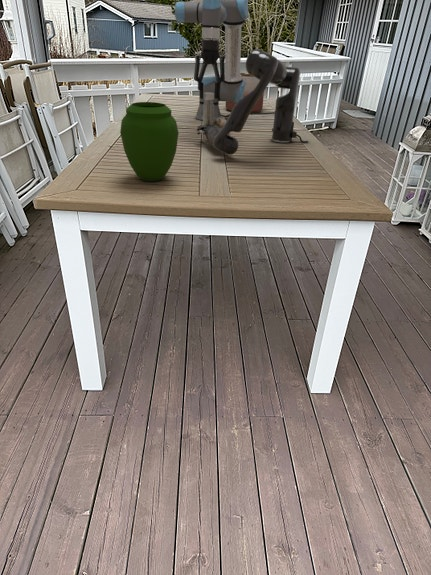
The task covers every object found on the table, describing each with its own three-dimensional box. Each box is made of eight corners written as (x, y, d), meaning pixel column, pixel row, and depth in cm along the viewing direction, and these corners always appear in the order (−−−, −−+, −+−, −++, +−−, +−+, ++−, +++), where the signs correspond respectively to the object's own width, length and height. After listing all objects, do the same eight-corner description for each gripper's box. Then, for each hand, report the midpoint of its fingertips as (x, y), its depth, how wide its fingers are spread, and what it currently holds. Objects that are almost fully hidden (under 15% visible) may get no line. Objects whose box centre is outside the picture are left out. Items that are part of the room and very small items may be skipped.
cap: (210, 98, 190) (210, 92, 189) (215, 99, 187) (215, 93, 186) (201, 98, 188) (202, 92, 187) (206, 100, 185) (206, 93, 183)
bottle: (209, 140, 201) (211, 93, 189) (214, 143, 197) (216, 94, 186) (200, 141, 198) (201, 93, 187) (205, 143, 195) (206, 94, 184)
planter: (266, 114, 273) (270, 77, 261) (229, 113, 269) (231, 75, 257) (257, 107, 294) (260, 73, 283) (222, 107, 290) (224, 72, 278)
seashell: (228, 132, 219) (229, 116, 215) (229, 134, 214) (230, 118, 210) (210, 131, 218) (211, 115, 213) (211, 134, 213) (212, 117, 209)
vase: (131, 189, 135) (125, 110, 122) (118, 172, 150) (112, 100, 137) (186, 184, 142) (187, 109, 129) (169, 168, 157) (167, 99, 144)
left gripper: (228, 40, 181) (225, 97, 194) (186, 38, 175) (185, 97, 187) (235, 41, 175) (231, 99, 188) (191, 39, 169) (191, 99, 181)
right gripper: (231, 125, 182) (221, 118, 196) (200, 126, 179) (191, 118, 193) (230, 143, 186) (220, 135, 200) (199, 143, 183) (191, 135, 197)
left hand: (208, 98), depth 187 cm, fingers open, 7 cm apart
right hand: (206, 127), depth 196 cm, fingers closed on bottle, 5 cm apart
